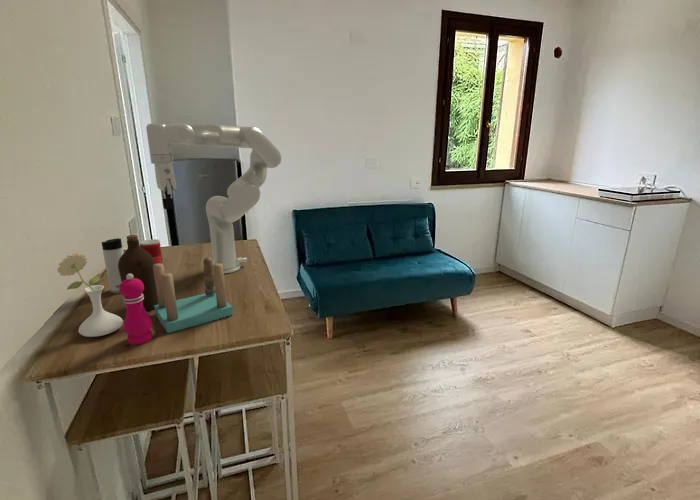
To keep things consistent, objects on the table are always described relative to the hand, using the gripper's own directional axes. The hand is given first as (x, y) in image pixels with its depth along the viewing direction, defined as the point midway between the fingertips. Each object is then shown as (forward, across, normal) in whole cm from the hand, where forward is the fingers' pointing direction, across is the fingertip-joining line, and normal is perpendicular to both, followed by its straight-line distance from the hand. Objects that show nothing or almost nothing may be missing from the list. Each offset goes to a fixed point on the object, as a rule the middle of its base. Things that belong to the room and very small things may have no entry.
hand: (168, 208), depth 148 cm
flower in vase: (+29, -30, +30) cm, 52 cm away
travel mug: (+29, +2, +20) cm, 36 cm away
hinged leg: (+26, -29, -4) cm, 39 cm away
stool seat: (+29, -35, +4) cm, 46 cm away
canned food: (+29, +26, +4) cm, 39 cm away
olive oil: (+29, -19, +16) cm, 38 cm away
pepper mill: (+29, -42, +21) cm, 55 cm away
